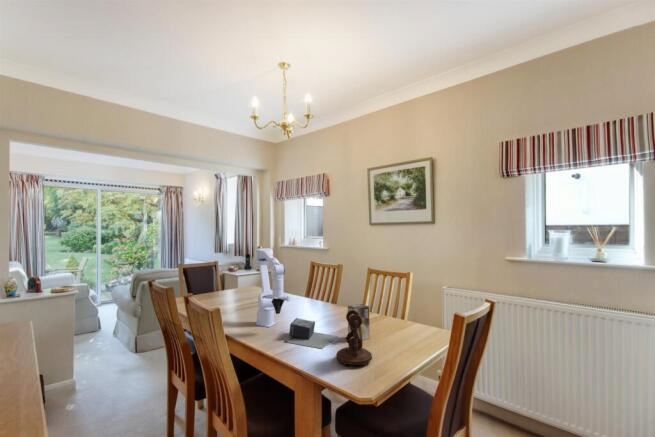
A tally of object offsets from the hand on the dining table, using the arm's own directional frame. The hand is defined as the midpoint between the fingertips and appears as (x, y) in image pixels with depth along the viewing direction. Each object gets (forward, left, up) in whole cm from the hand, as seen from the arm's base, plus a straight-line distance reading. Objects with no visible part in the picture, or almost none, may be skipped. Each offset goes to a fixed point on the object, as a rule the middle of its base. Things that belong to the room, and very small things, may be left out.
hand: (277, 313), depth 164 cm
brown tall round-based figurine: (+48, -14, -11) cm, 51 cm away
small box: (+9, 0, -6) cm, 11 cm away
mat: (+21, 0, -10) cm, 23 cm away
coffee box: (+41, +11, -11) cm, 44 cm away
